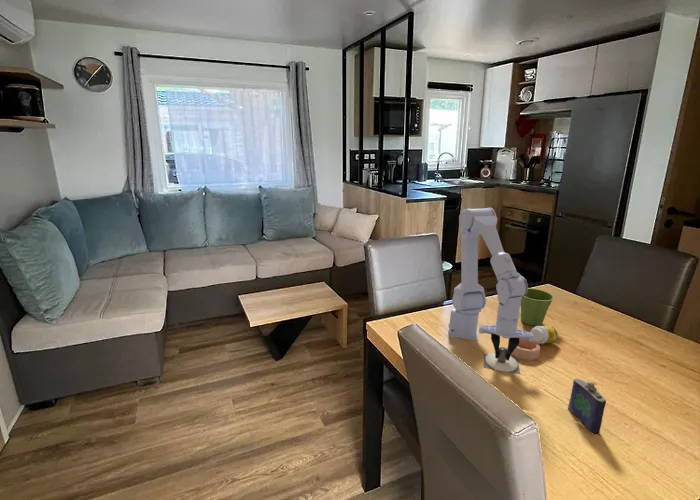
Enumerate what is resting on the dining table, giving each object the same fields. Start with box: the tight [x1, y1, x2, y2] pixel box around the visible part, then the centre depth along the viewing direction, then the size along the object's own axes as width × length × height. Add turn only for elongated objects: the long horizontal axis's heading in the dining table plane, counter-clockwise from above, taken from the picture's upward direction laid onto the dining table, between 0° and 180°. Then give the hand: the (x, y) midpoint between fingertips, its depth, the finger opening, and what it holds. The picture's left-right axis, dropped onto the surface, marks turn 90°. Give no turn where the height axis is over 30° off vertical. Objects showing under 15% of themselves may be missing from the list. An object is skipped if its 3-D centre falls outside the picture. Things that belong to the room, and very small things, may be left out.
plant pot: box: [520, 287, 555, 327], centre depth 141 cm, size 12×12×11 cm
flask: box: [567, 378, 607, 435], centre depth 91 cm, size 9×3×11 cm, turn 8°
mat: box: [483, 353, 521, 375], centre depth 115 cm, size 10×8×1 cm
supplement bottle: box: [529, 325, 559, 345], centre depth 125 cm, size 6×6×10 cm
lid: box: [485, 346, 519, 373], centre depth 114 cm, size 9×9×5 cm
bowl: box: [511, 339, 541, 361], centre depth 121 cm, size 8×8×4 cm
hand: (501, 357), depth 115 cm, fingers closed on lid, 2 cm apart
